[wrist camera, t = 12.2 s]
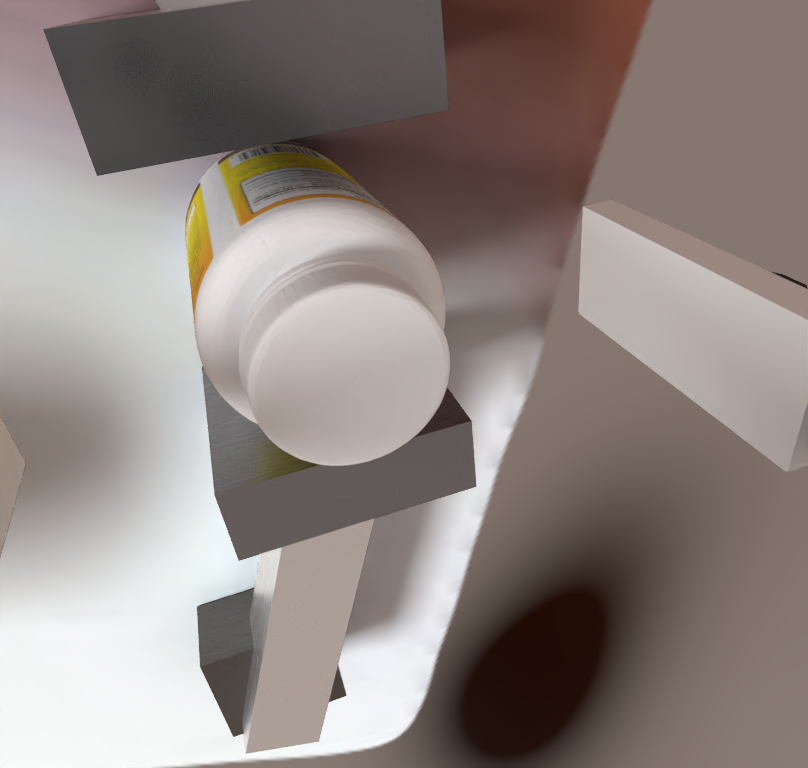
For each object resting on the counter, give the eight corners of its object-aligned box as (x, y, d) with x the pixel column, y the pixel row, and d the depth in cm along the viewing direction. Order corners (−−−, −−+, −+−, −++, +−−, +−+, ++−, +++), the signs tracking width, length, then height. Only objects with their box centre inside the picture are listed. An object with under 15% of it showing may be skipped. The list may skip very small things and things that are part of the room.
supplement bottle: (270, 340, 22) (333, 543, 14) (143, 219, 19) (125, 389, 11) (394, 234, 22) (537, 379, 13) (284, 93, 19) (381, 168, 10)
